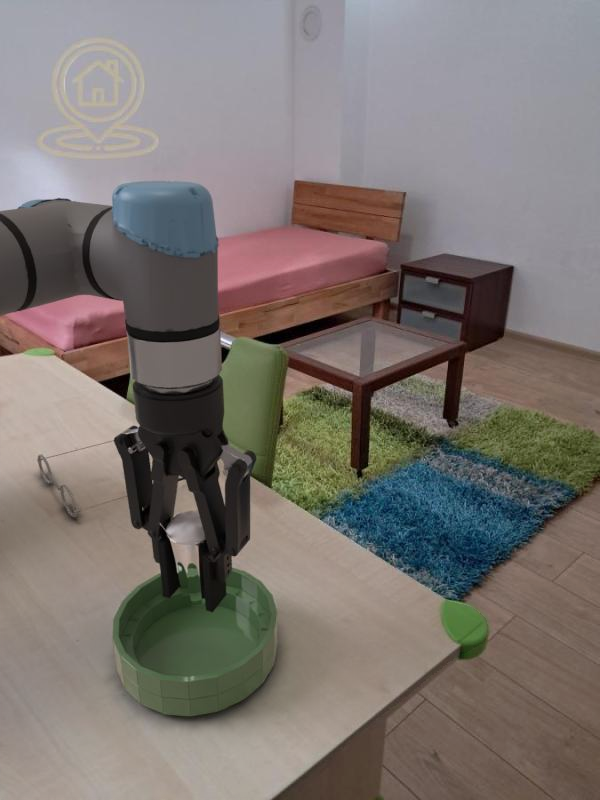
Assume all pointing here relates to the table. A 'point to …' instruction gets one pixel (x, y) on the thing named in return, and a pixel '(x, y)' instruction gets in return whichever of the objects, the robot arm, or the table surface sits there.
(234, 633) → the bowl
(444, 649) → the table surface
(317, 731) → the table surface
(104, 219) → the robot arm
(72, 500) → the eyeglasses
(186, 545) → the milkshake
